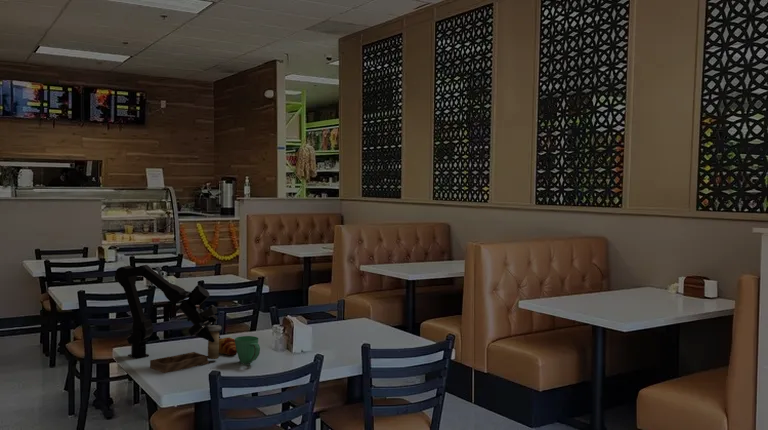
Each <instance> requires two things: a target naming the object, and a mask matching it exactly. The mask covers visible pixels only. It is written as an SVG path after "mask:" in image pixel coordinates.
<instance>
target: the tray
mask: <svg viewBox="0 0 768 430" xmlns="http://www.w3.org/2000/svg"><path fill="white" fill-rule="evenodd" d="M207 364H209V359H208V355H206V354H201V353H199V352H196V351H191V352H187V353H181V354H178V355H177V354H176V355H172V356H165V357H159V358H155V359H150V360H149V365H150V366H149V367H150V369H153V370H156V371H159V372H160V373H164V374H168V373H171V372H177V371H181V369H182V370H184V369H190V368H195V367H199V366H203V365H204V366H205V365H207Z"/></svg>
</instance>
